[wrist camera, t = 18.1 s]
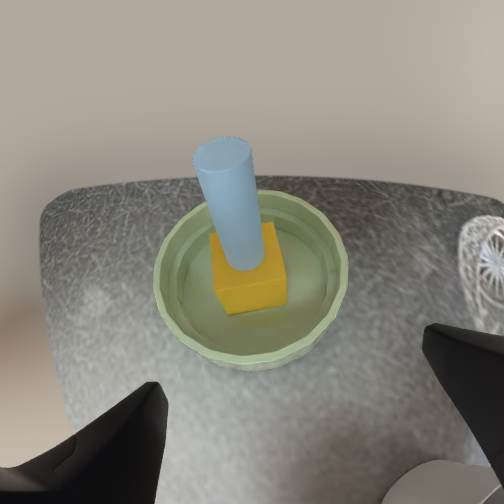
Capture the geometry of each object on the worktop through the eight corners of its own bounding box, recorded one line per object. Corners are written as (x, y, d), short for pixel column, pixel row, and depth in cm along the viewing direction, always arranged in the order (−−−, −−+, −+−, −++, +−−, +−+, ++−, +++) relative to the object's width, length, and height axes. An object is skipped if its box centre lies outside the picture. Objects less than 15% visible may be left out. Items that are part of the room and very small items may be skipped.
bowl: (290, 403, 19) (292, 403, 15) (143, 317, 24) (120, 298, 20) (359, 252, 25) (371, 224, 21) (227, 202, 30) (219, 173, 26)
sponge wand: (286, 304, 22) (286, 176, 11) (227, 315, 23) (166, 200, 11) (275, 255, 25) (264, 118, 13) (222, 265, 25) (173, 137, 13)
